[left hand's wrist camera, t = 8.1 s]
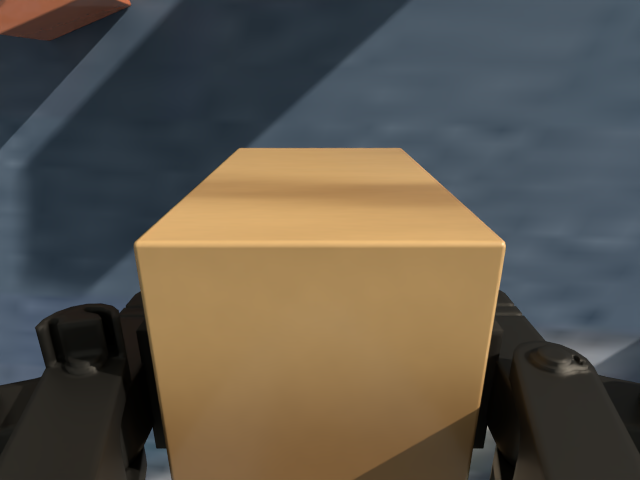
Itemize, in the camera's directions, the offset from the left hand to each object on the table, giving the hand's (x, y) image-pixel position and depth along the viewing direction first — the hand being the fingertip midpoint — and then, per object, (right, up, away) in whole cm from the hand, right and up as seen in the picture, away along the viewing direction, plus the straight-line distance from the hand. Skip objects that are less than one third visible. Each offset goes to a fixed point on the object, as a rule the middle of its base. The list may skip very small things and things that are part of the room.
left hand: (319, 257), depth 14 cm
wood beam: (0, -9, +4) cm, 10 cm away
